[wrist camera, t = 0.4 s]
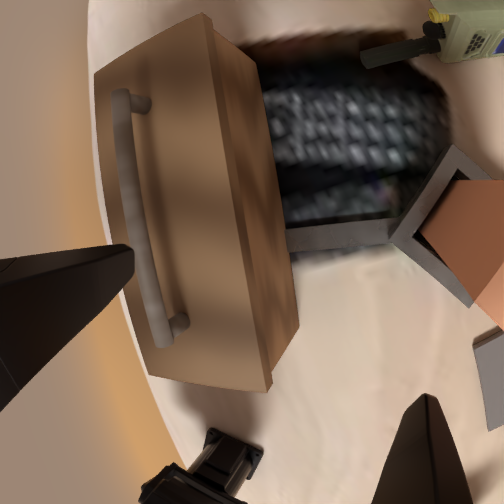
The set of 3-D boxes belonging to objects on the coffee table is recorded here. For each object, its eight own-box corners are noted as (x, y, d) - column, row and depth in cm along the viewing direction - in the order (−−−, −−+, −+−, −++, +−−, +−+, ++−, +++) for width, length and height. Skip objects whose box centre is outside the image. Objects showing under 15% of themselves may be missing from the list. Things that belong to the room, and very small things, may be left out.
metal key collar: (413, 346, 20) (416, 364, 17) (276, 242, 22) (264, 249, 20) (515, 215, 15) (531, 219, 12) (370, 97, 17) (369, 86, 15)
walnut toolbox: (303, 330, 23) (249, 420, 13) (206, 328, 26) (126, 392, 17) (258, 58, 19) (176, -7, 10) (165, 93, 23) (66, 68, 14)
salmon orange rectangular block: (459, 265, 17) (539, 370, 6) (417, 229, 18) (473, 301, 6) (491, 218, 16) (608, 270, 4) (450, 180, 16) (550, 181, 5)
